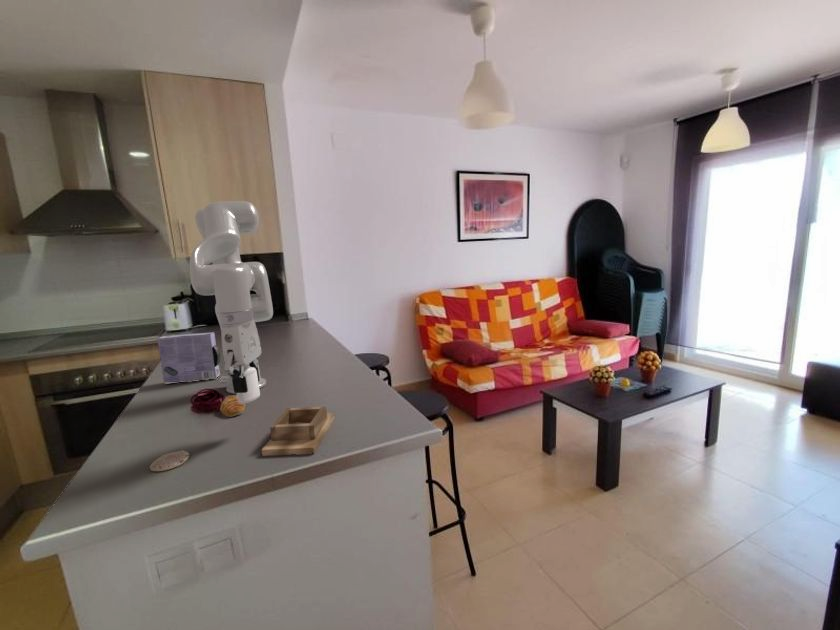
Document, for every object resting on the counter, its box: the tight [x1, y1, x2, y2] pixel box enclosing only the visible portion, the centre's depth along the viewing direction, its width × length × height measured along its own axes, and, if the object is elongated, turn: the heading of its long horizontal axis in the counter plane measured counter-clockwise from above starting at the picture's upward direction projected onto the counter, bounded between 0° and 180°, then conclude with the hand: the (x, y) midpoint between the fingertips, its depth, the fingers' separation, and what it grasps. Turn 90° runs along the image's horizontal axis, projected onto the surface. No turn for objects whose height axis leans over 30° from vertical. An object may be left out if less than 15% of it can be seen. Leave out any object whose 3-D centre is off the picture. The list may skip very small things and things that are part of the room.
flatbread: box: [149, 449, 190, 472], centre depth 88 cm, size 8×8×1 cm
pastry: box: [219, 395, 247, 418], centre depth 113 cm, size 9×7×4 cm
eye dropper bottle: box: [236, 364, 261, 405], centre depth 96 cm, size 4×6×12 cm
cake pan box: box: [157, 331, 221, 384], centre depth 142 cm, size 19×5×18 cm, turn 100°
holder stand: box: [261, 406, 336, 457], centre depth 95 cm, size 12×18×5 cm, turn 178°
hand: (247, 386), depth 97 cm, fingers closed on eye dropper bottle, 5 cm apart
